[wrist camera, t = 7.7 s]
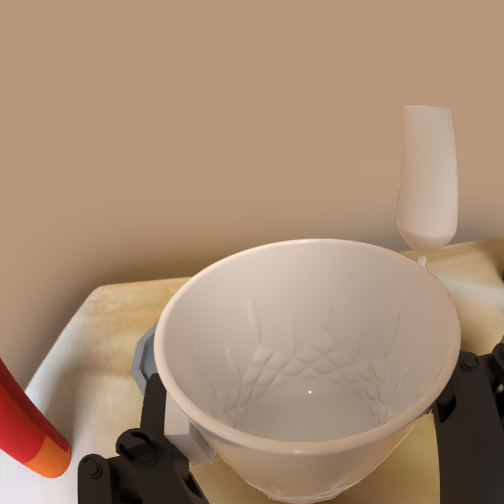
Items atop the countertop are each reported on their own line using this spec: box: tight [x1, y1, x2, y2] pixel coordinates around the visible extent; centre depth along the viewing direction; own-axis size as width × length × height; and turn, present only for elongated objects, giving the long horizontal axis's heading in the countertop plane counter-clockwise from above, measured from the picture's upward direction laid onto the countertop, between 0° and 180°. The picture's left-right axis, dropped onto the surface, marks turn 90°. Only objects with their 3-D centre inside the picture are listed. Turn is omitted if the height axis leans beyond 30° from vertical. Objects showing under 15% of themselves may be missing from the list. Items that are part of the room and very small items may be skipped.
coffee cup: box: [0, 358, 71, 478], centre depth 11 cm, size 8×8×15 cm
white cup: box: [154, 238, 461, 504], centre depth 9 cm, size 8×8×10 cm
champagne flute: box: [395, 105, 458, 268], centre depth 22 cm, size 7×7×24 cm
